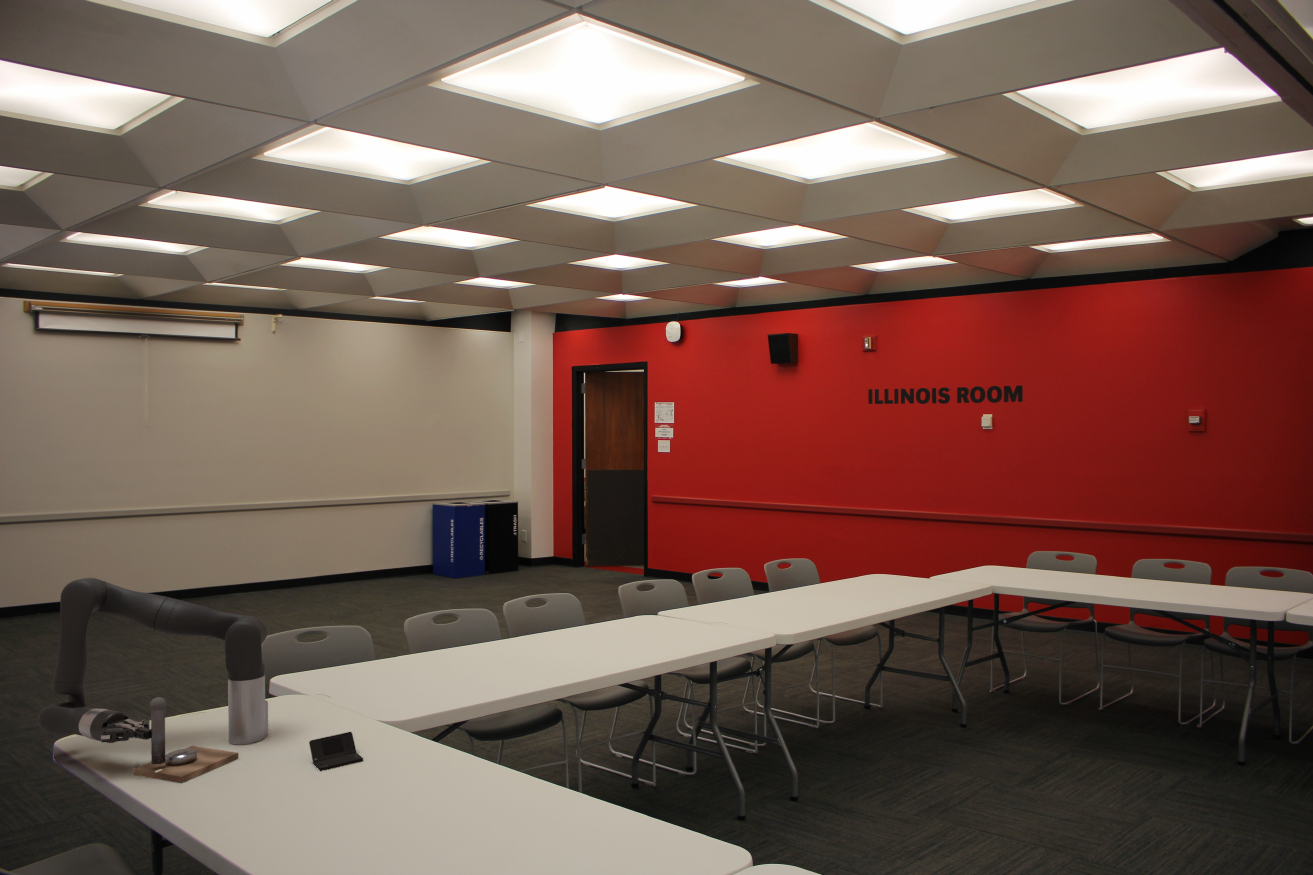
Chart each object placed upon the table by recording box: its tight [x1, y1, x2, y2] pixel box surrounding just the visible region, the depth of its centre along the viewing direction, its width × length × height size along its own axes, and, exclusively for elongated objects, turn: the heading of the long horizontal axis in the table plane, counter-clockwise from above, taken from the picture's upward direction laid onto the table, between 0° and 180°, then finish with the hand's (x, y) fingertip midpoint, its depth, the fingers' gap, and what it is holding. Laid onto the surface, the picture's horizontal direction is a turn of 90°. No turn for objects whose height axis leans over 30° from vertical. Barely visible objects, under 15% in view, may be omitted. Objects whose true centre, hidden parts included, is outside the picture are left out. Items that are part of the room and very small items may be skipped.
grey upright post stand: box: [149, 696, 197, 765], centre depth 217 cm, size 11×7×17 cm, turn 144°
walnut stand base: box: [133, 745, 239, 784], centre depth 219 cm, size 17×16×2 cm
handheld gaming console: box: [308, 731, 364, 772], centre depth 222 cm, size 12×7×10 cm
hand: (149, 734), depth 214 cm, fingers closed
